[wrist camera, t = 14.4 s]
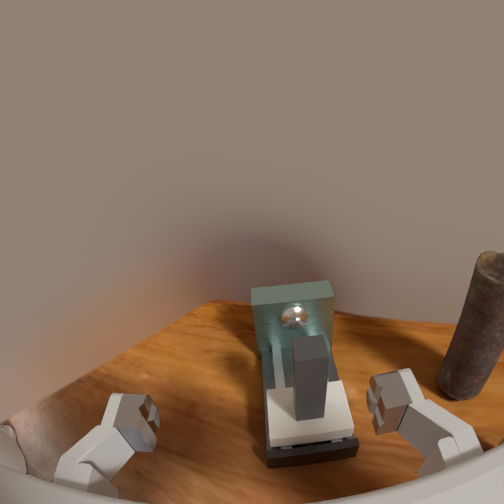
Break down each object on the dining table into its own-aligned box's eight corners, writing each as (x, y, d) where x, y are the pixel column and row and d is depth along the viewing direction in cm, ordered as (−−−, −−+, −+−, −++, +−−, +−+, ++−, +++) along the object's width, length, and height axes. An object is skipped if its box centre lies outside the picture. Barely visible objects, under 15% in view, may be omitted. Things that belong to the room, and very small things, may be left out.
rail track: (264, 468, 31) (255, 427, 26) (257, 340, 50) (251, 288, 46) (359, 455, 30) (375, 410, 26) (326, 332, 50) (328, 280, 45)
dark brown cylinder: (471, 413, 31) (533, 288, 21) (427, 395, 36) (470, 267, 26) (485, 375, 35) (533, 255, 26) (444, 360, 40) (480, 238, 31)
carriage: (270, 447, 31) (261, 382, 25) (267, 399, 37) (258, 327, 31) (351, 436, 30) (368, 367, 25) (340, 390, 37) (348, 316, 31)
